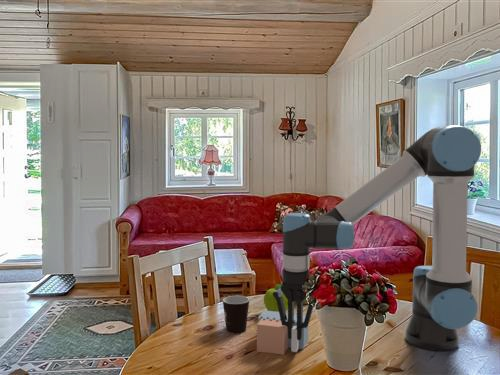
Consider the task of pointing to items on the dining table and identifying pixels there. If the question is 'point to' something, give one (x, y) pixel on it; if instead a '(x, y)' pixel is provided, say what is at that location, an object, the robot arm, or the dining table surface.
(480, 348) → the dining table surface
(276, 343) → the block
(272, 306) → the fruit
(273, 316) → the pad
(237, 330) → the coffee mug
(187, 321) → the dining table surface
